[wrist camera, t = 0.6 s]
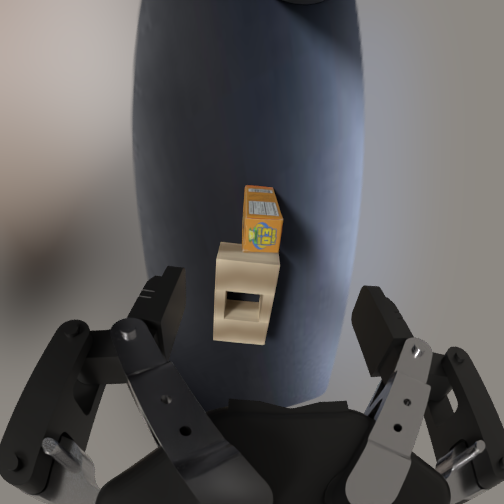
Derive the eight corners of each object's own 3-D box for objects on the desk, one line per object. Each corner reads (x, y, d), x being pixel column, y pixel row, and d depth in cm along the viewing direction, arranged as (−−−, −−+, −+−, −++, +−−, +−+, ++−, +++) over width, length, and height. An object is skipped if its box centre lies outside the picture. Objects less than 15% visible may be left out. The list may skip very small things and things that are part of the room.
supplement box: (273, 213, 32) (278, 257, 23) (243, 211, 32) (237, 253, 23) (276, 185, 30) (284, 220, 22) (245, 183, 30) (240, 216, 22)
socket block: (220, 242, 34) (216, 258, 30) (278, 248, 34) (280, 265, 31) (216, 320, 40) (213, 339, 37) (263, 325, 41) (264, 344, 37)
